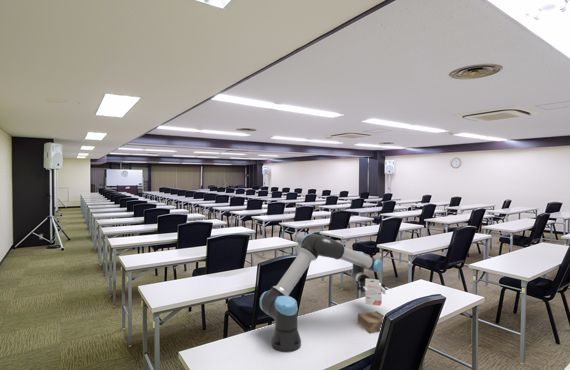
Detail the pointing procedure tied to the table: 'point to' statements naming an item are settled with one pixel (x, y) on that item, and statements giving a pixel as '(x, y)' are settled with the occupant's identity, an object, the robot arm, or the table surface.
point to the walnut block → (370, 321)
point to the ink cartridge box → (373, 292)
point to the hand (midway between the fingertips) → (376, 292)
